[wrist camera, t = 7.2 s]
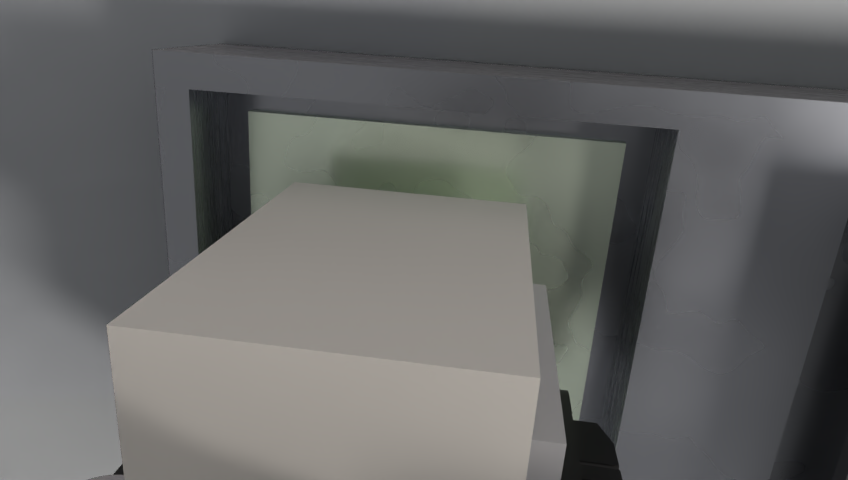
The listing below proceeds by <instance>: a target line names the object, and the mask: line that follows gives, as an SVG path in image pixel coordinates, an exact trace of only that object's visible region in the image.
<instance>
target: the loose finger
mask: <svg viewBox="0 0 848 480" xmlns="http://www.w3.org/2000/svg"><path fill="white" fill-rule="evenodd" d="M106 326H107V335H108V343H109V352H110V361H111V369H112V378H113V386H114V395H115V403H116V412H117V421H118V429H119V438H120V446H121V455H122V463H123V472H124V480H561V475H562V469H563V463H564V457H565V451H566V445H567V443H566V435H565V428H564V420H563V412H562V405H561V397H560V389H559V382H558V374H557V366H556V359H555V351H554V343H553V336H552V328H551V320H550V313H549V305H548V297H547V290H546V285H541V284H533V279H532V267H531V255H530V243H529V231H528V218H527V206H526V204H518V203H508V202H498V201H487V200H477V199H466V198H456V197H445V196H435V195H425V194H414V193H404V192H393V191H383V190H372V189H362V188H352V187H341V186H331V185H320V184H310V183H299V182H294V183H293V184H291V185H290V186H289V187H287V188H286V189H285V190H284V191H282V192H281V193H280V194H278V195H277V196H276V197H274V198H273V199H272V200H270V201H269V202H268V203H266V204H265V205H264V206H262V207H261V208H260V209H258V210H257V211H256V212H255V213H253V214H252V215H251V216H249V217H248V218H247V219H245V220H244V221H243V222H241V223H240V224H239V225H237V226H236V227H235V228H233V229H232V230H231V231H230V232H228V233H227V234H226V235H224V236H223V237H222V238H220V239H219V240H218V241H216V242H215V243H214V244H212V245H211V246H210V247H208V248H207V249H206V250H205V251H203V252H202V253H201V254H199V255H198V256H197V257H195V258H194V259H193V260H191V261H190V262H189V263H187V264H186V265H185V266H183V267H182V268H181V269H179V270H178V271H177V272H176V273H174V274H173V275H172V276H170V277H169V278H168V279H166V280H165V281H164V282H162V283H161V284H160V285H158V286H157V287H156V288H154V289H153V290H152V291H151V292H149V293H148V294H147V295H145V296H144V297H143V298H141V299H140V300H139V301H137V302H136V303H135V304H133V305H132V306H131V307H129V308H128V309H127V310H125V311H124V312H123V313H122V314H120V315H119V316H118V317H116V318H115V319H114V320H112V321H111V322H110V323H108V324H107V325H106Z"/></svg>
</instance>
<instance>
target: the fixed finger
mask: <svg viewBox="0 0 848 480" xmlns="http://www.w3.org/2000/svg"><path fill="white" fill-rule="evenodd" d="M832 480H848V434H847V437H846V440H845V443H844V446H843V449H842V452H841V455H840V458H839V461H838V464H837V467H836V469H835V472H834V475H833V478H832Z"/></svg>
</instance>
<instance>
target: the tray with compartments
mask: <svg viewBox="0 0 848 480" xmlns="http://www.w3.org/2000/svg"><path fill="white" fill-rule="evenodd" d="M152 55H153V68H154V81H155V94H156V107H157V120H158V133H159V147H160V160H161V173H162V186H163V199H164V212H165V225H166V238H167V251H168V264H169V277H170V276H172V275H173V274H174V273H176V272H177V271H178V270H179V269H181V268H182V267H183V266H185V265H186V264H187V263H189V262H190V261H191V260H193V259H194V258H195V257H197V256H198V255H199V254H201V253H202V252H203V251H205V250H206V249H207V248H208V247H210V246H211V245H212V244H214V243H215V242H216V241H218V240H219V239H220V238H222V237H223V236H224V235H226V234H227V233H228V232H230V231H231V230H232V229H233V228H235V227H236V226H237V225H239V224H240V223H241V222H243V221H244V220H245V219H247V218H248V217H249V216H251V215H252V214H253V213H255V212H256V211H257V210H258V209H260V208H261V207H262V206H264V205H265V204H266V203H268V202H269V201H270V200H272V199H273V198H274V197H276V196H277V195H278V194H280V193H281V192H282V191H284V190H285V189H286V188H287V187H289V186H290V185H291V184H293V183H294V182H299V183H310V184H320V185H331V186H341V187H352V188H362V189H372V190H383V191H393V192H404V193H414V194H425V195H435V196H445V197H456V198H466V199H477V200H487V201H498V202H508V203H518V204H526V206H527V218H528V231H529V243H530V255H531V267H532V279H533V284H541V285H546V290H547V297H548V305H549V313H550V320H551V328H552V336H553V343H554V351H555V359H556V366H557V374H558V382H559V389H561V390H568V392H569V396H570V403H571V409H572V416H573V420H577V421H585V422H593V423H597V424H598V425H599V426H600V427H601V429H602V430H603V431H604V432H605V433H606V435H607V436H608V437H609V438H610V439H611V441H612V442H613V443H614V446H615V450H616V455H617V459H618V463H619V470H620V471H621V475H622V480H832V478H833V475H834V472H835V469H836V467H837V464H838V461H839V458H840V455H841V452H842V449H843V446H844V443H845V440H846V437H847V434H848V90H835V89H822V88H809V87H795V86H782V85H769V84H755V83H742V82H728V81H715V80H702V79H688V78H675V77H661V76H648V75H635V74H621V73H608V72H595V71H581V70H568V69H554V68H541V67H528V66H514V65H501V64H488V63H474V62H461V61H447V60H434V59H421V58H407V57H394V56H381V55H367V54H354V53H340V52H327V51H314V50H300V49H287V48H273V47H260V46H247V45H233V44H211V45H200V46H188V47H176V48H165V49H153V50H152Z"/></svg>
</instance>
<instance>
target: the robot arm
mask: <svg viewBox="0 0 848 480" xmlns="http://www.w3.org/2000/svg"><path fill="white" fill-rule="evenodd" d="M560 397H561V405H562V412H563V420H564V428H565V435H566V443H567V445H566V451H565V457H564V463H563V469H562V475H561V480H622V475H621V471H620V470H619V463H618V459H617V455H616V450H615V446H614V443H613V442H612V441H611V439H610V438H609V437H608V436H607V435H606V433H605V432H604V431H603V430H602V429H601V427H600V426H599V425H598V424H597V423H593V422H585V421H577V420H573V416H572V409H571V403H570V396H569V392H568V390H561V389H560ZM88 480H124V472H123V464H122V465H121V466H120V467H119V469H118V470H117V471H116V472H115V473H114V474H113V475H105V476H99V477H95V478H91V479H88Z"/></svg>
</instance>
